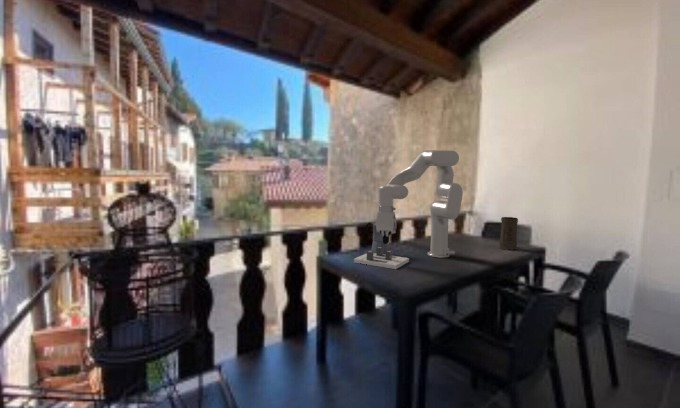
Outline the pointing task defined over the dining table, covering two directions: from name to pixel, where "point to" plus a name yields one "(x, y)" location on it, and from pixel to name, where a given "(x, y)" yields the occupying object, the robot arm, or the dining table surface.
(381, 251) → the block
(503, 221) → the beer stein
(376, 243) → the moka pot
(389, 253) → the block
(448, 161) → the robot arm
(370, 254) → the breaker
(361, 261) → the panel
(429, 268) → the dining table surface
